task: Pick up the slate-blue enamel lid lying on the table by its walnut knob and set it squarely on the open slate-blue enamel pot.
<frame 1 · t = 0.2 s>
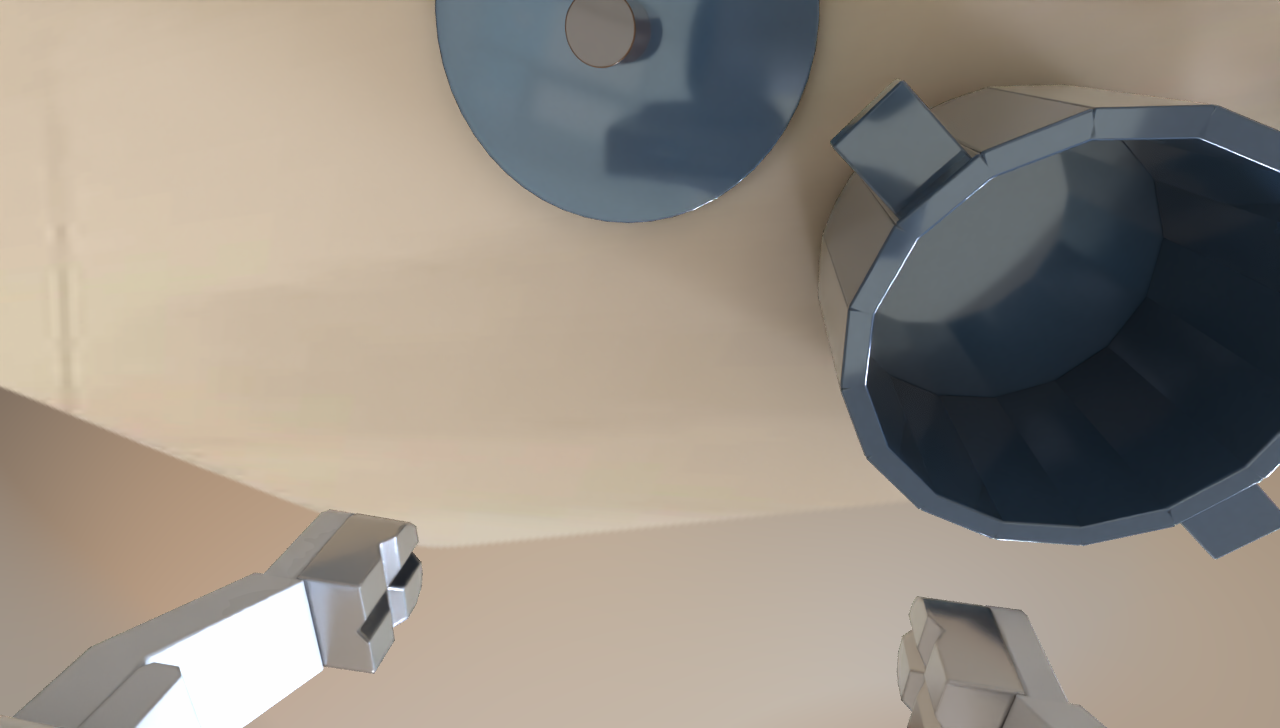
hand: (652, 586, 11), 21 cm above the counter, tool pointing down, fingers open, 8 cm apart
lid: (622, 30, 26), point 1 cm above the counter
pot: (987, 261, 28), on the counter
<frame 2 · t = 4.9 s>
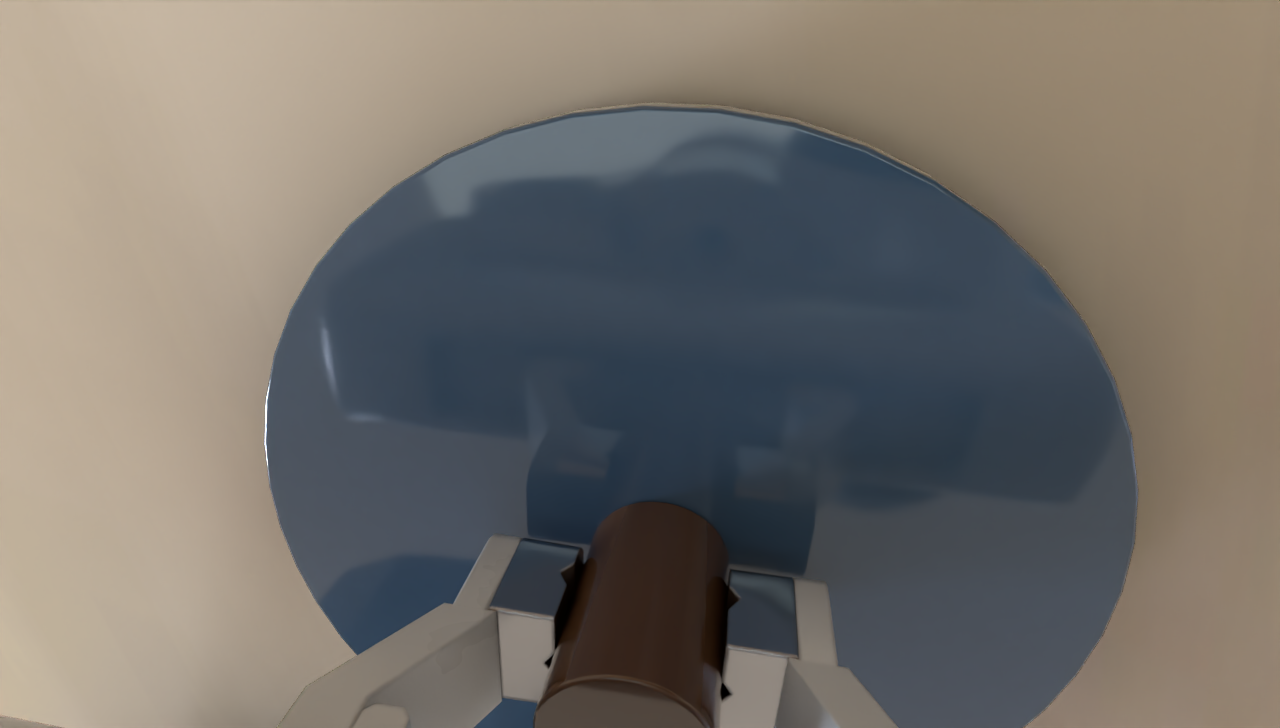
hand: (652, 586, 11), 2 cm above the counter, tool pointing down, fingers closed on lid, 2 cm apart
lid: (663, 534, 12), point 1 cm above the counter, touching gripper
when the fingers open (11 cm above the counter, at t = 12.6 s): lid stays where it is, resting on pot.
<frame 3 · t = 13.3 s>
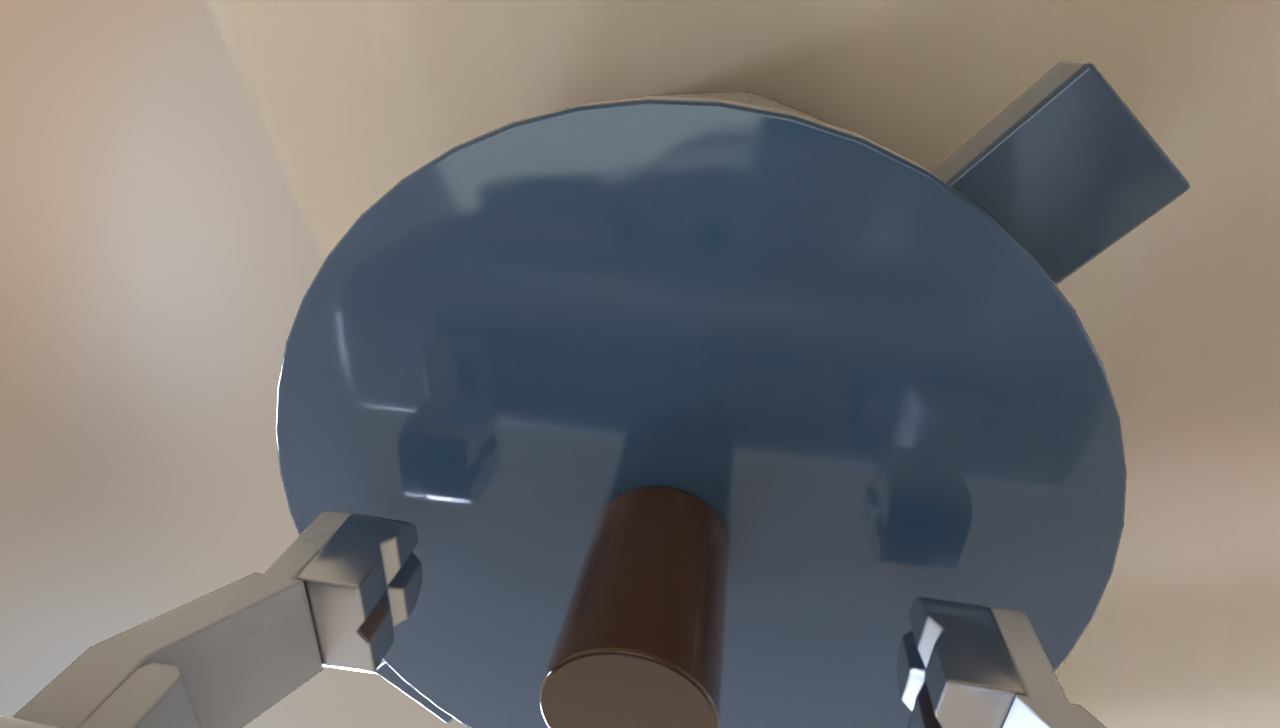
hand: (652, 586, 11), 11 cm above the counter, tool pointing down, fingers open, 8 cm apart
lid: (665, 519, 12), point 9 cm above the counter, touching pot
pot: (701, 327, 21), on the counter
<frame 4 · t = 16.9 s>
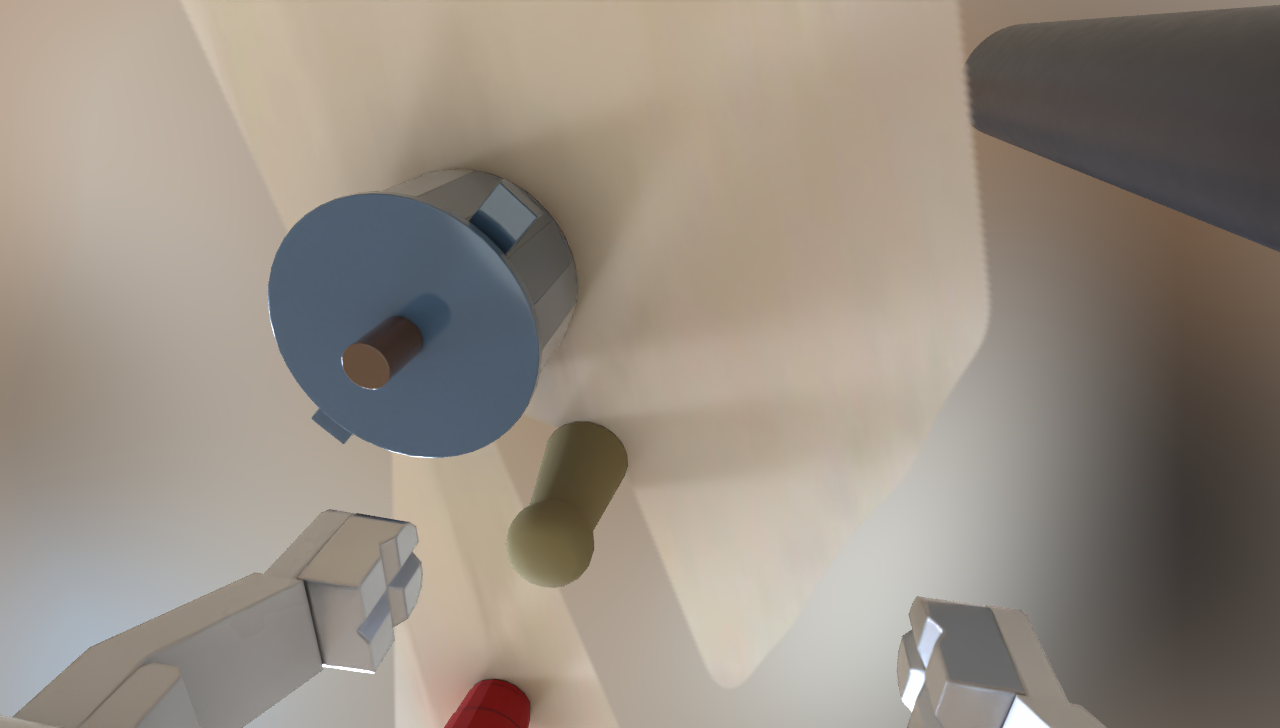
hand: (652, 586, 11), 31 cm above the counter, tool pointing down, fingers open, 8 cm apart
lid: (406, 333, 35), point 9 cm above the counter, touching pot
pot: (474, 277, 43), on the counter
cork: (587, 456, 48), on the counter
plastic cup: (503, 700, 61), on the counter
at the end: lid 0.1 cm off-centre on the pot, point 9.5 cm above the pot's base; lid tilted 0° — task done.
